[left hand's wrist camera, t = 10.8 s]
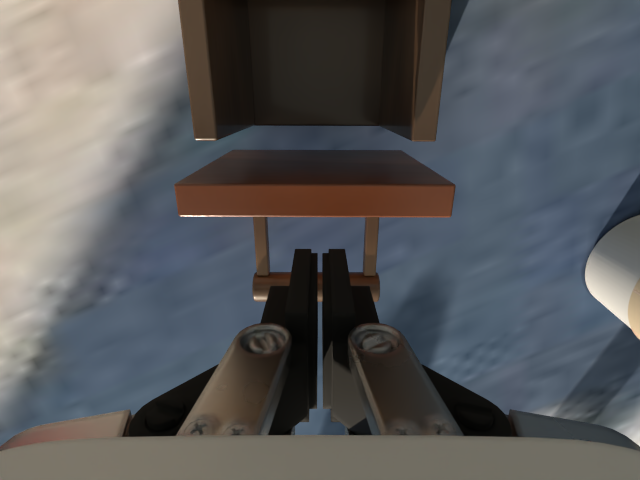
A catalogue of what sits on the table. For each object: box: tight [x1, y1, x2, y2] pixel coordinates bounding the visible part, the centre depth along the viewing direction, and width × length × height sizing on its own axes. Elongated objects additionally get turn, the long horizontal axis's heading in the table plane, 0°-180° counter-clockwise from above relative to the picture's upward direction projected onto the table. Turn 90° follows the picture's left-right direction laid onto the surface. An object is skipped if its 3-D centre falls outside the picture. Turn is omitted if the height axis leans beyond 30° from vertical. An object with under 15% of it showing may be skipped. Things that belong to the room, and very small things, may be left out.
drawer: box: [174, 0, 455, 302], centre depth 15 cm, size 24×10×9 cm, turn 0°
